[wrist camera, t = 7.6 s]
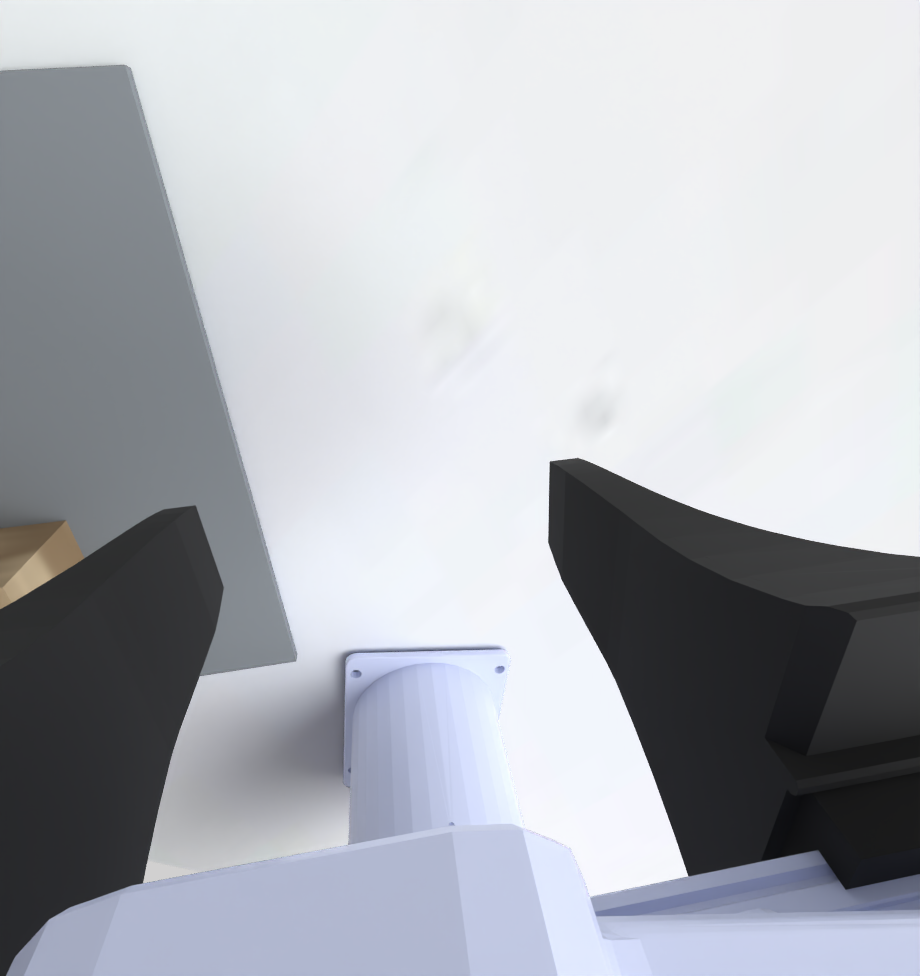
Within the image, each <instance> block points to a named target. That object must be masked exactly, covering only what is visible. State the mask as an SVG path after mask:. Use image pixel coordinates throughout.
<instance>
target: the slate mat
mask: <svg viewBox="0 0 920 976" xmlns="http://www.w3.org/2000/svg"><path fill="white" fill-rule="evenodd" d="M194 505H196V508H197V511H198V513H199V516H200V519H201V522H202V525H203V528H204V531H205V534H206V537H207V540H208V542H209V545H210V548H211V551H212V554H213V557H214V560H215V563H216V566H217V569H218V572H219V574H220V577H221V580H222V583H223V586H224V590H223V596H222V602H221V607H220V613H219V617H218V622H217V627H216V631H215V634H214V637H213V640H212V643H211V646H210V648H209V651H208V654H207V657H206V660H205V662H204V665H203V668H202V671H201V673H200V676H203V675H210V674H216V673H223V672H229V671H236V670H243V669H249V668H256V667H262V666H269V665H275V664H282V663H288V662H295V661H296V659H297V652H296V649H295V645H294V642H293V638H292V635H291V631H290V628H289V624H288V621H287V617H286V614H285V610H284V607H283V603H282V600H281V596H280V593H279V589H278V585H277V582H276V578H275V575H274V571H273V568H272V564H271V561H270V557H269V554H268V550H267V547H266V543H265V540H264V536H263V533H262V529H261V526H260V522H259V519H258V515H257V511H256V508H255V504H254V501H253V497H252V494H251V490H250V487H249V483H248V480H247V476H246V473H245V469H244V466H243V462H242V459H241V455H240V452H239V448H238V445H237V441H236V438H235V434H234V430H233V427H232V423H231V420H230V416H229V413H228V409H227V406H226V402H225V399H224V395H223V392H222V388H221V385H220V381H219V378H218V374H217V371H216V367H215V364H214V360H213V356H212V353H211V349H210V346H209V342H208V339H207V335H206V332H205V328H204V325H203V321H202V318H201V314H200V311H199V307H198V304H197V300H196V297H195V293H194V290H193V286H192V283H191V279H190V275H189V272H188V268H187V265H186V261H185V258H184V254H183V251H182V247H181V244H180V240H179V237H178V233H177V230H176V226H175V223H174V219H173V216H172V212H171V209H170V205H169V201H168V198H167V194H166V191H165V187H164V184H163V180H162V177H161V173H160V170H159V166H158V163H157V159H156V156H155V152H154V149H153V145H152V142H151V138H150V135H149V131H148V127H147V124H146V120H145V117H144V113H143V110H142V106H141V103H140V99H139V96H138V92H137V89H136V85H135V82H134V78H133V75H132V71H131V68H129V67H128V66H126V65H114V66H93V67H71V68H50V69H28V70H7V71H0V528H9V527H17V526H25V525H33V524H41V523H49V522H57V521H65V520H66V521H67V523H68V525H69V527H70V529H71V531H72V533H73V536H74V538H75V540H76V542H77V544H78V546H79V548H80V550H81V552H82V554H83V556H84V558H86V557H87V556H89V555H90V554H92V553H93V552H95V551H96V550H98V549H99V548H101V547H102V546H104V545H105V544H107V543H108V542H110V541H112V540H113V539H115V538H116V537H118V536H119V535H121V534H122V533H124V532H125V531H127V530H128V529H130V528H131V527H133V526H135V525H136V524H138V523H139V522H141V521H143V520H144V519H146V518H148V517H149V516H151V515H153V514H155V513H157V512H159V511H161V510H163V509H170V508H178V507H186V506H194Z"/></svg>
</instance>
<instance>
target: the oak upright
mask: <svg viewBox="0 0 920 976" xmlns="http://www.w3.org/2000/svg"><path fill="white" fill-rule="evenodd" d="M83 559H84V556H83V554H82V552H81V550H80V548H79V546H78V544H77V542H76V540H75V538H74V536H73V533H72V531H71V529H70V527H69V525H68V523H67V521H66V520H65V521H57V522H49V523H41V524H33V525H25V526H17V527H9V528H0V609H1V608H3V607H5V606H7V605H9V604H10V603H12V602H14V601H16V600H17V599H19V598H21V597H23V596H24V595H26V594H28V593H29V592H31V591H32V590H34V589H36V588H37V587H39V586H41V585H42V584H44V583H46V582H47V581H49V580H50V579H52V578H54V577H55V576H57V575H59V574H60V573H62V572H63V571H65V570H67V569H68V568H70V567H72V566H73V565H75V564H76V563H78V562H80V561H81V560H83Z"/></svg>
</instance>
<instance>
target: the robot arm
mask: <svg viewBox="0 0 920 976" xmlns="http://www.w3.org/2000/svg"><path fill="white" fill-rule="evenodd" d="M548 543H549V546H550V549H551V551H552V554H553V557H554V560H555V563H556V566H557V568H558V571H559V573H560V576H561V579H562V581H563V583H564V585H565V587H566V589H567V590H568V592H569V594H570V596H571V598H572V600H573V602H574V604H575V605H576V607H577V609H578V611H579V613H580V615H581V616H582V618H583V620H584V622H585V624H586V626H587V627H588V629H589V631H590V633H591V635H592V637H593V638H594V640H595V642H596V644H597V646H598V648H599V649H600V651H601V653H602V655H603V657H604V658H605V660H606V662H607V664H608V666H609V668H610V670H611V672H612V674H613V677H614V679H615V681H616V683H617V685H618V688H619V690H620V693H621V695H622V697H623V700H624V702H625V705H626V707H627V710H628V712H629V715H630V717H631V719H632V722H633V724H634V727H635V729H636V732H637V735H638V737H639V740H640V742H641V745H642V748H643V750H644V753H645V755H646V758H647V760H648V763H649V766H650V768H651V771H652V773H653V776H654V779H655V782H656V784H657V787H658V790H659V793H660V796H661V798H662V801H663V804H664V807H665V809H666V812H667V815H668V818H669V821H670V823H671V826H672V829H673V832H674V834H675V837H676V840H677V843H678V846H679V849H680V852H681V855H682V858H683V861H684V864H685V867H686V870H687V873H688V876H689V877H684V878H680V879H675V880H670V881H665V882H660V883H655V884H650V885H646V886H641V887H636V888H631V889H626V890H621V891H616V892H611V893H607V894H602V895H597V896H592V897H590V896H589V893H588V890H587V886H586V883H585V880H584V878H583V876H582V873H581V871H580V869H579V867H578V864H577V862H576V860H575V858H574V855H573V853H572V851H571V849H570V848H568V847H566V846H565V845H563V844H561V843H559V842H557V841H555V840H552V839H550V838H547V837H545V836H542V835H540V834H537V833H535V832H532V831H530V830H527V829H525V826H524V822H523V818H522V814H521V810H520V806H519V802H518V798H517V793H516V789H515V785H514V781H513V777H512V773H511V769H510V765H509V761H508V757H507V753H506V749H505V745H504V741H503V737H502V733H501V728H500V724H499V716H500V711H501V706H502V701H503V697H504V692H505V687H506V682H507V677H508V672H509V667H510V662H511V658H510V655H509V653H508V651H506V650H501V649H500V650H460V651H419V652H379V653H354V654H351V655H349V656H348V657H347V658H346V663H345V714H344V771H343V783H344V785H345V786H347V787H350V811H349V841H348V845H345V846H340V847H335V848H329V849H324V850H319V851H313V852H308V853H303V854H297V855H292V856H287V857H281V858H276V859H271V860H265V861H260V862H255V863H249V864H244V865H238V866H233V867H228V868H222V869H217V870H212V871H206V872H201V873H196V874H191V875H185V876H180V877H175V878H169V879H164V880H158V881H153V882H149V883H143V880H144V875H145V869H146V864H147V860H148V855H149V851H150V846H151V841H152V837H153V832H154V827H155V823H156V818H157V813H158V809H159V805H160V801H161V796H162V792H163V788H164V784H165V780H166V776H167V772H168V768H169V764H170V760H171V756H172V753H173V749H174V746H175V743H176V740H177V737H178V734H179V730H180V728H181V725H182V722H183V720H184V717H185V714H186V711H187V709H188V706H189V703H190V701H191V698H192V695H193V692H194V690H195V687H196V684H197V682H198V679H199V676H200V673H201V671H202V668H203V665H204V662H205V660H206V657H207V654H208V651H209V648H210V646H211V643H212V640H213V637H214V634H215V631H216V627H217V622H218V617H219V613H220V607H221V602H222V596H223V590H224V586H223V583H222V580H221V577H220V574H219V572H218V569H217V566H216V563H215V560H214V557H213V554H212V551H211V548H210V545H209V542H208V540H207V537H206V534H205V531H204V528H203V525H202V522H201V519H200V516H199V513H198V511H197V508H196V505H194V506H186V507H178V508H170V509H163V510H161V511H159V512H157V513H155V514H153V515H151V516H149V517H148V518H146V519H144V520H143V521H141V522H139V523H138V524H136V525H135V526H133V527H131V528H130V529H128V530H127V531H125V532H124V533H122V534H121V535H119V536H118V537H116V538H115V539H113V540H112V541H110V542H108V543H107V544H105V545H104V546H102V547H101V548H99V549H98V550H96V551H95V552H93V553H92V554H90V555H89V556H87V557H86V558H84V559H83V560H81V561H80V562H78V563H76V564H75V565H73V566H72V567H70V568H68V569H67V570H65V571H63V572H62V573H60V574H59V575H57V576H55V577H54V578H52V579H50V580H49V581H47V582H46V583H44V584H42V585H41V586H39V587H37V588H36V589H34V590H32V591H31V592H29V593H28V594H26V595H24V596H23V597H21V598H19V599H17V600H16V601H14V602H12V603H10V604H9V605H7V606H5V607H3V608H1V609H0V976H920V557H915V556H905V555H895V554H887V553H880V552H874V551H867V550H861V549H854V548H848V547H842V546H836V545H830V544H825V543H820V542H814V541H809V540H805V539H800V538H796V537H792V536H787V535H783V534H778V533H774V532H770V531H766V530H762V529H758V528H755V527H751V526H747V525H744V524H741V523H737V522H734V521H731V520H728V519H724V518H721V517H718V516H715V515H712V514H709V513H706V512H703V511H700V510H698V509H695V508H692V507H690V506H687V505H685V504H682V503H680V502H677V501H675V500H672V499H670V498H667V497H665V496H662V495H660V494H658V493H655V492H653V491H651V490H649V489H646V488H644V487H642V486H640V485H638V484H636V483H633V482H631V481H629V480H627V479H625V478H623V477H621V476H619V475H616V474H614V473H612V472H610V471H608V470H606V469H604V468H602V467H599V466H597V465H595V464H593V463H590V462H588V461H585V460H582V459H579V458H575V459H567V460H558V461H550V478H549V536H548ZM497 666H501V667H498V668H496V667H497ZM354 670H359V671H358V672H353V671H354Z"/></svg>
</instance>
